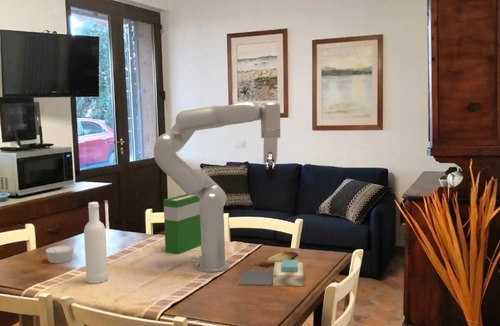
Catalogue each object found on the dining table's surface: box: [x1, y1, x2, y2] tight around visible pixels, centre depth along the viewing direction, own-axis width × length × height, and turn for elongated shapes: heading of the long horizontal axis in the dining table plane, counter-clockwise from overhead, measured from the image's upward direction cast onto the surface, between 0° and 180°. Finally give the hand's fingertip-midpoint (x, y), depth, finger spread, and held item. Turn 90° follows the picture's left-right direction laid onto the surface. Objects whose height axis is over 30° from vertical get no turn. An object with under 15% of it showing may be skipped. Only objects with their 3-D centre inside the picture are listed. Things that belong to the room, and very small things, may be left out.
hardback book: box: [163, 193, 201, 255], centre depth 244 cm, size 18×7×24 cm, turn 149°
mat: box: [238, 269, 273, 287], centre depth 202 cm, size 12×16×1 cm
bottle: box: [83, 201, 109, 284], centre depth 201 cm, size 8×8×30 cm
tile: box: [281, 259, 299, 272], centre depth 200 cm, size 6×9×2 cm, turn 175°
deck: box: [272, 261, 304, 287], centre depth 200 cm, size 11×16×4 cm
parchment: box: [254, 250, 299, 269], centre depth 225 cm, size 25×10×1 cm, turn 145°
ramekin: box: [45, 245, 75, 264], centre depth 229 cm, size 11×11×5 cm
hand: (271, 177), depth 209 cm, fingers open, 9 cm apart
